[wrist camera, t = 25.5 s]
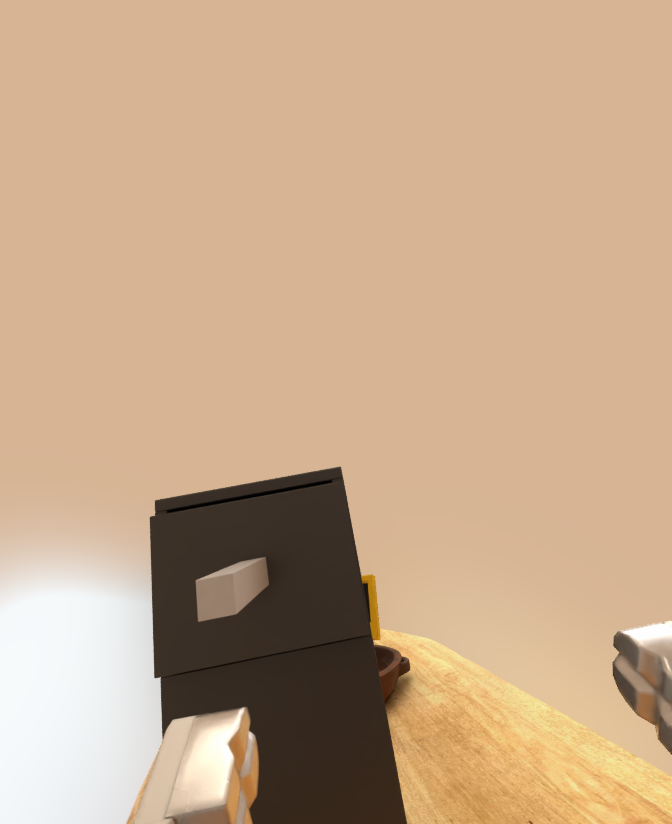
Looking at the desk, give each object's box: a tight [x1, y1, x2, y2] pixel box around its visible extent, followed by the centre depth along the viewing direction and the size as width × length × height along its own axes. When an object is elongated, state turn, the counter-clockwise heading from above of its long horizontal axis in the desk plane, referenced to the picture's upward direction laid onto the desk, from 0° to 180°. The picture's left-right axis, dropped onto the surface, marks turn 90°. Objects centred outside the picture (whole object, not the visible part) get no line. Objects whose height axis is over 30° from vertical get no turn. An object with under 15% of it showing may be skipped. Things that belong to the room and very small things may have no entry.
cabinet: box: [155, 467, 407, 824], centre depth 32 cm, size 12×16×33 cm
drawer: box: [150, 482, 370, 678], centre depth 29 cm, size 21×16×11 cm
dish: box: [374, 645, 410, 700], centre depth 62 cm, size 18×22×5 cm
